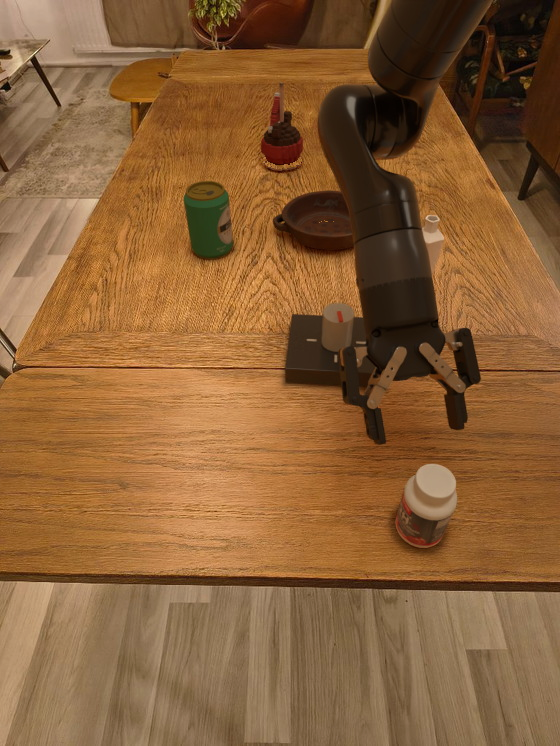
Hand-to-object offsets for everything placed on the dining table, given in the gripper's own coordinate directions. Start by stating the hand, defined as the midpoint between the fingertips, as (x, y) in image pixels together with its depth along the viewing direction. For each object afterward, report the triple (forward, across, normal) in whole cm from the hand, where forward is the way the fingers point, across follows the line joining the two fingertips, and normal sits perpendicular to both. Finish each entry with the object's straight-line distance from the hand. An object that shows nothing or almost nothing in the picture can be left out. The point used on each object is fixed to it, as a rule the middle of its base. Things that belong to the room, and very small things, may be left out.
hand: (419, 436), depth 53 cm
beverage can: (-33, -16, +49) cm, 61 cm away
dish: (-33, +8, +49) cm, 60 cm away
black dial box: (-9, -1, +25) cm, 26 cm away
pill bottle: (+11, 0, +4) cm, 12 cm away
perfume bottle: (-16, +16, +32) cm, 39 cm away
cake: (-57, +6, +72) cm, 92 cm away
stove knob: (-12, -1, +23) cm, 25 cm away
